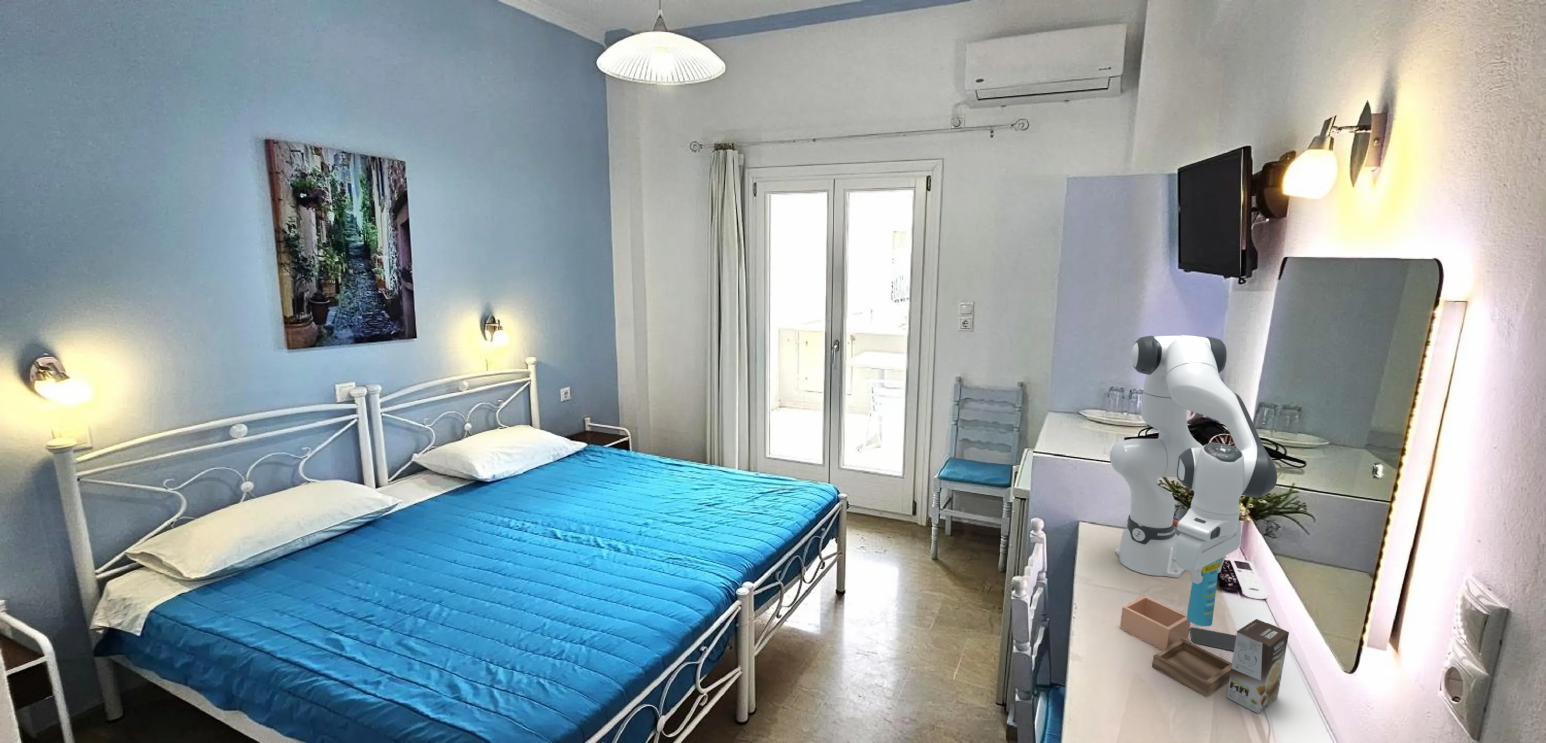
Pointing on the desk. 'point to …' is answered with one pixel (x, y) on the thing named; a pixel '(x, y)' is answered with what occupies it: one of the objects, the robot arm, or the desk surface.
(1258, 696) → the coffee box
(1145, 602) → the pink open box
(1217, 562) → the tube
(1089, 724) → the desk surface
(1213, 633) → the smartphone
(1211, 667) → the tray
